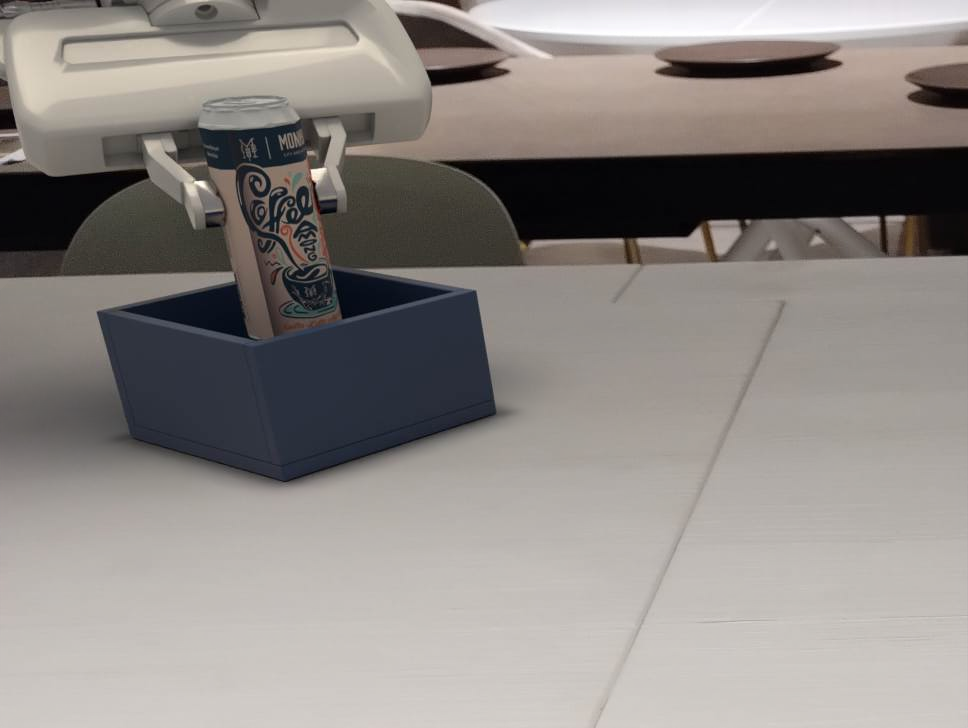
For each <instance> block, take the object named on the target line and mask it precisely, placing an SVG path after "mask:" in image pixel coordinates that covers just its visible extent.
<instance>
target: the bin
mask: <svg viewBox="0 0 968 728" xmlns="http://www.w3.org/2000/svg"><path fill="white" fill-rule="evenodd" d="M331 269H332V274H333V279H334V283H335V288H336V293H337V298H338V302H339V307H340V312H341V317H342V320H339V321H335V322H331V323H327V324H323V325H319V326H315V327H311V328H307V329H303V330H299V331H295V332H291V333H287V334H283V335H280V336H276V337H272V338H268V339H264V340H260V341H258V340H255V339H253V338H251V337H249V335H248V332H247V328H246V324H245V319H244V315H243V311H242V307H241V303H240V298H239V294H238V290H237V286H236V282H235V280H233V281H229V282H224V283H219V284H214V285H209V286H204V287H201V288H196V289H191V290H187V291H182V292H177V293H173V294H170V295H163V296H159V297H155V298H150V299H146V300H142V301H137V302H132V303H127V304H123V305H119V306H113V307H109V308H105V309H100V310H97V311H96V316H97V319H98V323H99V326H100V330H101V333H102V334H101V335H102V337H103V341H104V344H105V348H106V351H107V355H108V359H109V362H110V367H111V370H112V374H113V377H114V382H115V384H116V389H117V391H118V395H119V399H120V402H121V406H122V409H123V413H124V416H125V420H126V423H127V426H128V427H127V428H128V430H129V434H130V438H133V439H136V440H139V441H144V442H147V443H150V444H154V445H157V446H160V447H165V448H167V449H171V450H175V451H178V452H181V453H185V454H188V455H193V456H196V457H199V458H202V459H206V460H209V461H213V462H217V463H220V464H224V465H227V466H231V467H234V468H238V469H241V470H245V471H249V472H251V473H255V474H259V475H263V476H266V477H269V478H273V479H275V480H279V481H283V482H286V481H290V480H293V479H296V478H299V477H302V476H305V475H308V474H311V473H315V472H317V471H321V470H324V469H327V468H330V467H333V466H336V465H340V464H343V463H346V462H348V461H349V462H350V461H351V460H354V459H355V460H356V459H358V458H361V457H364V456H368V455H370V454H374V453H377V452H380V451H383V450H386V449H389V448H392V447H395V446H399V445H401V444H404V443H407V442H410V441H413V440H417V439H420V438H423V437H426V436H429V435H433V434H435V433H438V432H439V433H440V432H442V431H444V430H445V431H446V430H447V429H451V428H454V427H457V426H460V425H463V424H466V423H470V422H473V421H475V420H476V421H477V420H478V419H481V418H485V417H488V416H491V415H494V414H497V408H496V401H495V394H494V393H495V392H494V387H493V382H492V376H491V369H490V364H489V358H488V351H487V347H486V341H485V334H484V328H483V322H482V321H483V320H482V315H481V310H480V304H479V298H478V293H477V292H478V291H477V290H476V289H471V288H465V287H458V286H452V285H447V284H441V283H438V282H437V283H436V282H431V281H426V280H424V281H423V280H419V279H415V278H414V279H413V278H408V277H402V276H397V275H393V274H386V273H381V272H374V271H369V270H363V269H358V268H354V267H353V268H352V267H346V266H340V265H335V264H331Z"/></svg>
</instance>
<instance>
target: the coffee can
mask: <svg viewBox="0 0 968 728" xmlns="http://www.w3.org/2000/svg"><path fill="white" fill-rule="evenodd" d="M202 105H203V108H202V111H201V115H200V119H199V123H198V127H199V131H200V135H201V139H202V144H203V148H204V152H205V156H206V160H207V162H206V164H207V169H208V172H209V176H210V180H213V181H214V183H215V185H216V187H217V190H218V196H219V197H220V198H221V200H222V203H223V206H224V210H225V217H224V220H225V226H223V227H222V231H223V235H224V239H225V245H226V248H227V253H228V257H229V260H230V265H231V268H232V273H233V277H234V281H235V282H236V286H237V290H238V294H239V298H240V303H241V307H242V311H243V315H244V319H245V324H246V328H247V332H248V335H249V337H251V338H253V339H255V340H258V341H260V340H264V339H268V338H272V337H276V336H280V335H283V334H287V333H291V332H295V331H299V330H303V329H307V328H311V327H315V326H319V325H323V324H327V323H331V322H335V321H339V320H342V317H341V312H340V307H339V302H338V298H337V293H336V288H335V283H334V279H333V274H332V269H331V265H332V264H331V261H330V255H329V250H328V246H327V241H326V237H325V232H324V226H323V223H322V218H321V215H320V214H319V212H318V204H317V200H316V198H315V189H314V185H313V182H312V174H311V170H310V169H311V165H310V161H309V156H308V151H306V146H305V141H304V137H303V132H302V127H301V122H300V118H299V116H298V114H297V113H296V112H295V110H294V109H293V107H292V106H291V105H290V103H289V102H288V101H287V98H286V97H281V96H275V95H260V96H239V97H227V98H220V99H214V100H208V101H206V102H204V103H202Z"/></svg>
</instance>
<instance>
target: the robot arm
mask: <svg viewBox="0 0 968 728" xmlns="http://www.w3.org/2000/svg"><path fill="white" fill-rule="evenodd" d="M0 79H2V80H3V81H5V82H6V83H7V87H8V92H9V97H10V102H11V107H12V113H13V116H14V121H15V126H16V130H17V133H18V137H19V141H20V145H21V149H22V152H23V155H24V159H25V160H26V162H28V164H30V165H32V166H33V167H34V168H36V169H37V170H39V171H40V172H42V173H44V174H45V175H47V176H49V177H68V176H77V175H87V174H97V173H106V172H107V173H108V172H115V171H117V172H118V171H127V170H134V169H135V170H137V169H146V172H147V174H148V176H149V179H150V182H151V183H153V184H154V185H155V186H157V187H158V188H159V189H161V190H162V191H163V192H164V193H166V194H167V195H168V196H170V197H171V198H172V199H174V200H175V201H176V202H178V204H180V205H184V207H185V210H186V213H187V214H188V218H189V220H190V222H191V223H190V224H191V225H192V228H193V229H194V231H198V230H206V229H214V228H215V229H216V228H223V226H225V220H224V217H225V210H224V206H223V203H222V200H221V198H220V197H219V196H218V190H217V187H216V185H215V183H214V181H213V180H211V179H205V180H197V179H196V178H195V177H193V175H191V174H190V173H189V172H188V171H186V170H185V168H183V167H182V166H181V165H185V164H194V163H196V164H197V163H207V160H206V156H205V152H204V148H203V144H202V139H201V135H200V131H199V127H198V123H199V119H200V115H201V111H202V108H203V105H202V103H204V102H206V101H208V100H214V99H220V98H227V97H239V96H260V95H275V96H281V97H286V98H287V101H288V102H289V103H290V105H291V106H292V107H293V109H294V110H295V112H296V113H297V114H298V116H299V118H300V122H301V127H302V132H303V137H304V141H305V146H306V151H307V152H313V153H314V155H315V158H316V161H317V162H318V163H319V164H323V166H322V167H318V168H310V170H311V174H312V182H313V185H314V189H315V198H316V200H317V204H318V212H319V214H320V216H325V215H335V214H341V213H347V206H348V195H347V191H346V187H345V184H344V183H343V180H342V177H341V175H342V173H343V170H344V165H345V162H346V150H347V148H357V147H365V146H374V145H385V144H396V143H405V142H406V143H407V142H414V141H418V140H420V139H421V138H422V137H423V135H424V133H425V131H426V130H427V127H428V125H429V123H430V120H431V115H432V108H433V88H432V82H431V80H430V77H429V75H428V73H427V70H426V68H425V66H424V63H423V61H422V59H421V57H420V55H419V53H418V50H417V48H416V47H415V44H414V42H413V40H412V39H411V38H410V36H409V34H408V31H407V30H406V29H405V27H404V25H403V23H402V22H401V19H400V18H399V17H398V15H397V13H396V12H395V10H394V9H393V7H391V5H390V4H389V3H388V2H387V1H386V0H51V1H50V0H49V1H45V2H44V1H40V2H29V1H25V0H22V1H21V0H20V1H10V2H6V3H3V4H0Z"/></svg>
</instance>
